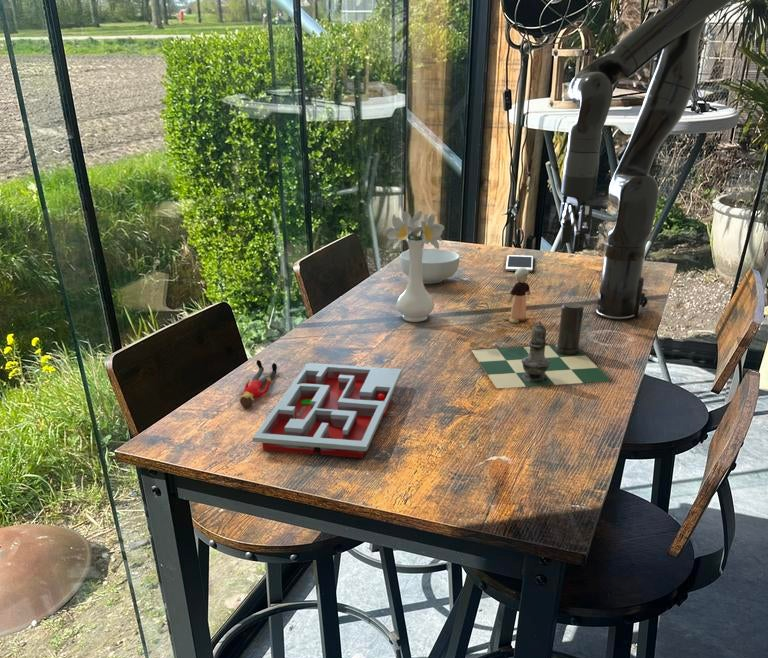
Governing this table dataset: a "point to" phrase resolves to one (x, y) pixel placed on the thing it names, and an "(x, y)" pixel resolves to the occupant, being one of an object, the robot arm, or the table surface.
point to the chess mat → (562, 370)
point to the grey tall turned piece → (536, 357)
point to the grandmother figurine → (519, 296)
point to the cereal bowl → (433, 264)
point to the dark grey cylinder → (570, 329)
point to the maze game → (330, 410)
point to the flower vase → (415, 261)
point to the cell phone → (519, 262)
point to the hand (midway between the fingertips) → (571, 247)
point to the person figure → (256, 386)
